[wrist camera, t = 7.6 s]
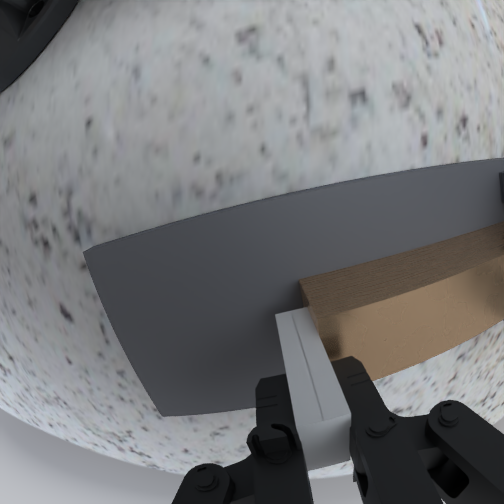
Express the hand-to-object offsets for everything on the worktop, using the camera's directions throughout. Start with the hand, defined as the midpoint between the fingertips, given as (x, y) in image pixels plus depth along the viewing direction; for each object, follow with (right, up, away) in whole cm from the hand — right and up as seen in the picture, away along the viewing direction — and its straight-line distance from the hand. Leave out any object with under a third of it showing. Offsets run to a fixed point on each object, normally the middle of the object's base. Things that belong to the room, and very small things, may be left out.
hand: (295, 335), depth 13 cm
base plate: (+10, +3, +2) cm, 11 cm away
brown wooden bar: (+11, +3, +1) cm, 12 cm away
